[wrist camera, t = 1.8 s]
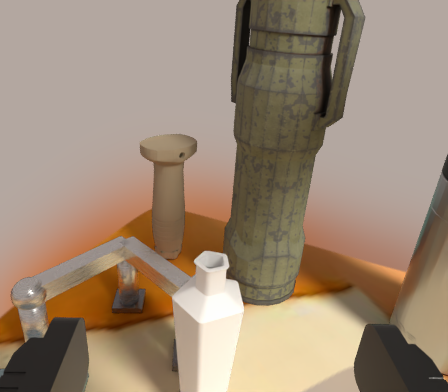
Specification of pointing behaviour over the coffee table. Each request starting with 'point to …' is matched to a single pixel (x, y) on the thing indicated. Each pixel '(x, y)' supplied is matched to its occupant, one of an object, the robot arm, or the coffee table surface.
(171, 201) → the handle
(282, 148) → the thermos
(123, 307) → the bent rail
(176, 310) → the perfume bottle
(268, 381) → the coffee table surface
